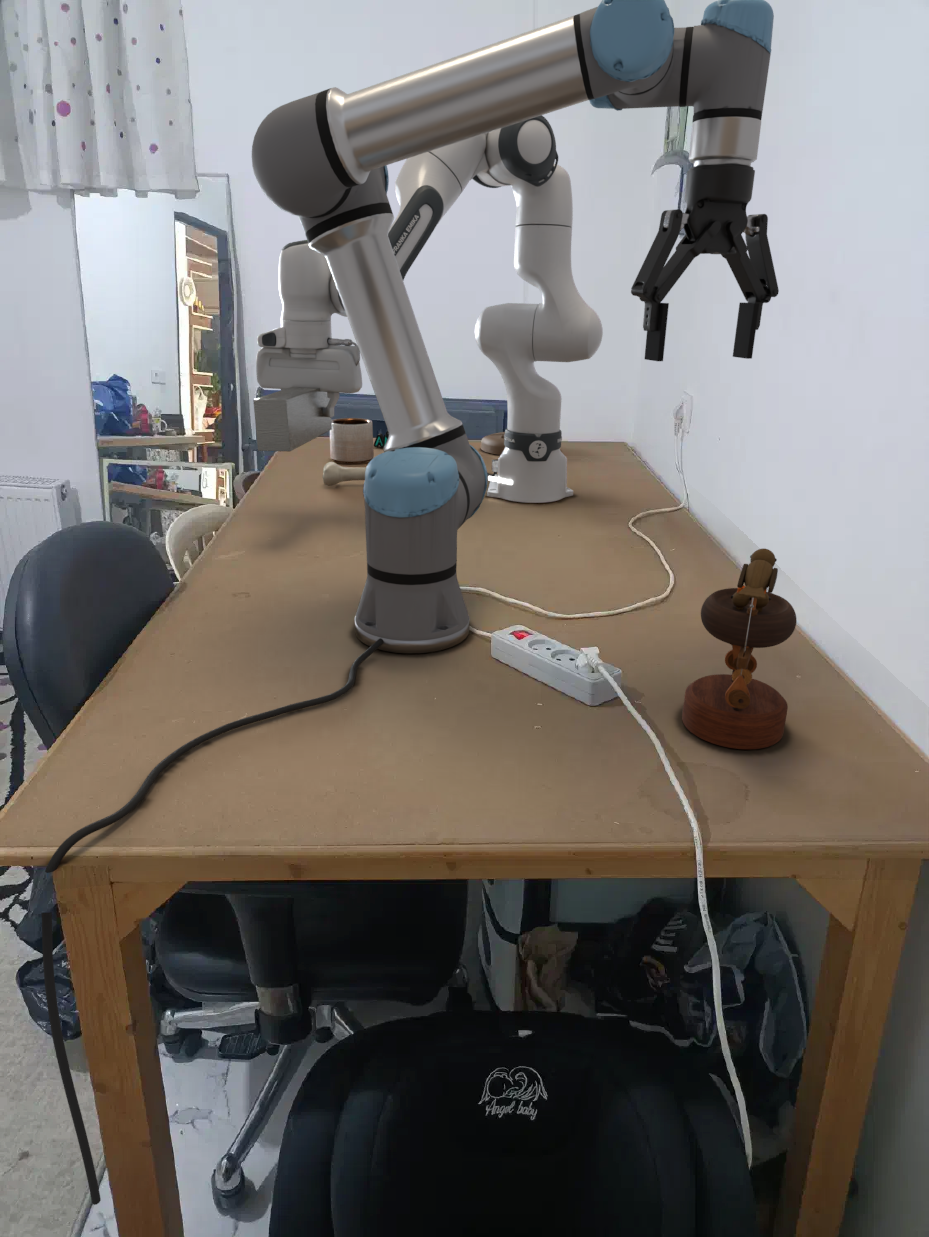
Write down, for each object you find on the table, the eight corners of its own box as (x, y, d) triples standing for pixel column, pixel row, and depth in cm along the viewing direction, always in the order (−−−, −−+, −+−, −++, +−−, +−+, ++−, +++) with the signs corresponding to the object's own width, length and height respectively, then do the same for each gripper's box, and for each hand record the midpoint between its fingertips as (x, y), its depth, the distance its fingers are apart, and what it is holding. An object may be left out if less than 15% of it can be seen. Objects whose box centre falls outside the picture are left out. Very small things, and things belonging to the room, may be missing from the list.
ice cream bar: (486, 465, 210) (486, 448, 209) (479, 444, 236) (479, 428, 235) (570, 465, 211) (571, 449, 210) (554, 444, 237) (554, 429, 236)
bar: (290, 451, 139) (286, 399, 136) (257, 450, 140) (253, 399, 137) (332, 429, 161) (329, 384, 158) (303, 429, 162) (300, 384, 159)
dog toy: (411, 480, 194) (411, 458, 192) (414, 486, 189) (414, 464, 187) (322, 482, 191) (321, 460, 189) (322, 488, 185) (321, 465, 184)
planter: (327, 456, 217) (325, 418, 214) (369, 454, 220) (368, 417, 217) (334, 465, 208) (332, 425, 204) (377, 463, 211) (376, 424, 207)
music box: (804, 761, 84) (822, 570, 76) (690, 761, 85) (697, 574, 78) (770, 691, 98) (782, 524, 90) (673, 692, 99) (677, 527, 92)
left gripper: (781, 175, 105) (756, 354, 113) (610, 161, 95) (596, 358, 103) (828, 169, 98) (797, 359, 106) (650, 154, 89) (632, 364, 97)
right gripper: (367, 338, 152) (369, 416, 157) (267, 334, 158) (272, 410, 163) (351, 340, 146) (353, 421, 151) (248, 336, 152) (254, 414, 158)
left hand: (698, 359), depth 105 cm, fingers open, 13 cm apart
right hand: (310, 415), depth 157 cm, fingers closed on bar, 6 cm apart
